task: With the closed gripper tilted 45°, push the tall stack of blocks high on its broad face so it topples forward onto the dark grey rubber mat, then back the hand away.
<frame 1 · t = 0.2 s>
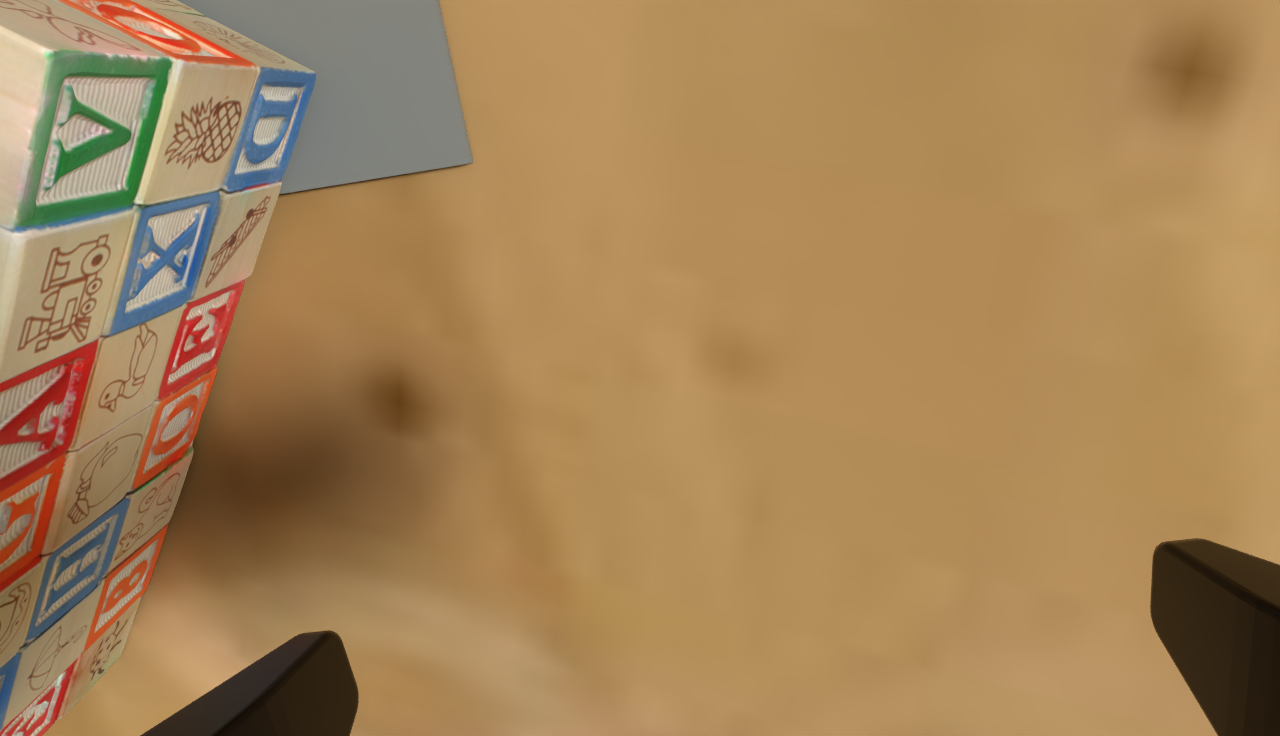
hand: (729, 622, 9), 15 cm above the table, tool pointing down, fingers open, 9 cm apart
stack of blocks: (115, 360, 23), on the table, touching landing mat
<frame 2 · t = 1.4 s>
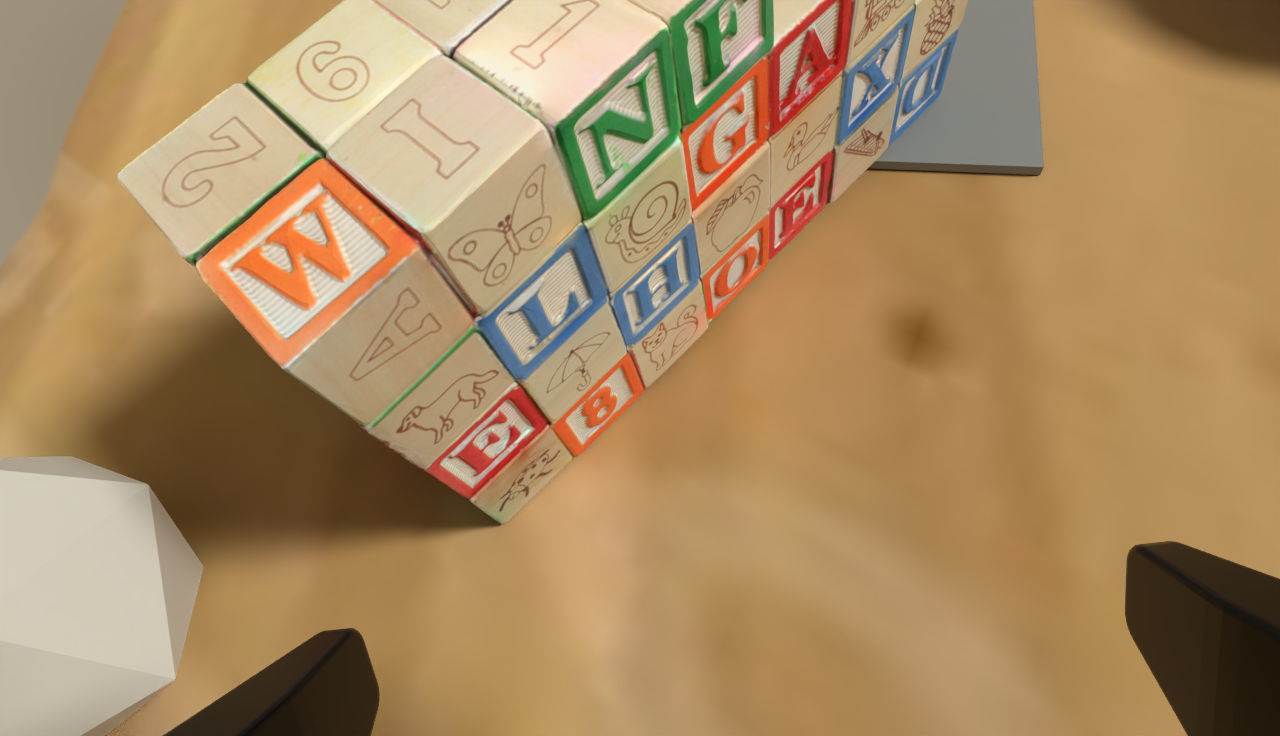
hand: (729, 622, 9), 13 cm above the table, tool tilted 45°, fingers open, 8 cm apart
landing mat: (712, 35, 31), on the table
die: (126, 631, 24), on the table
stack of blocks: (674, 250, 27), on the table, touching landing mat
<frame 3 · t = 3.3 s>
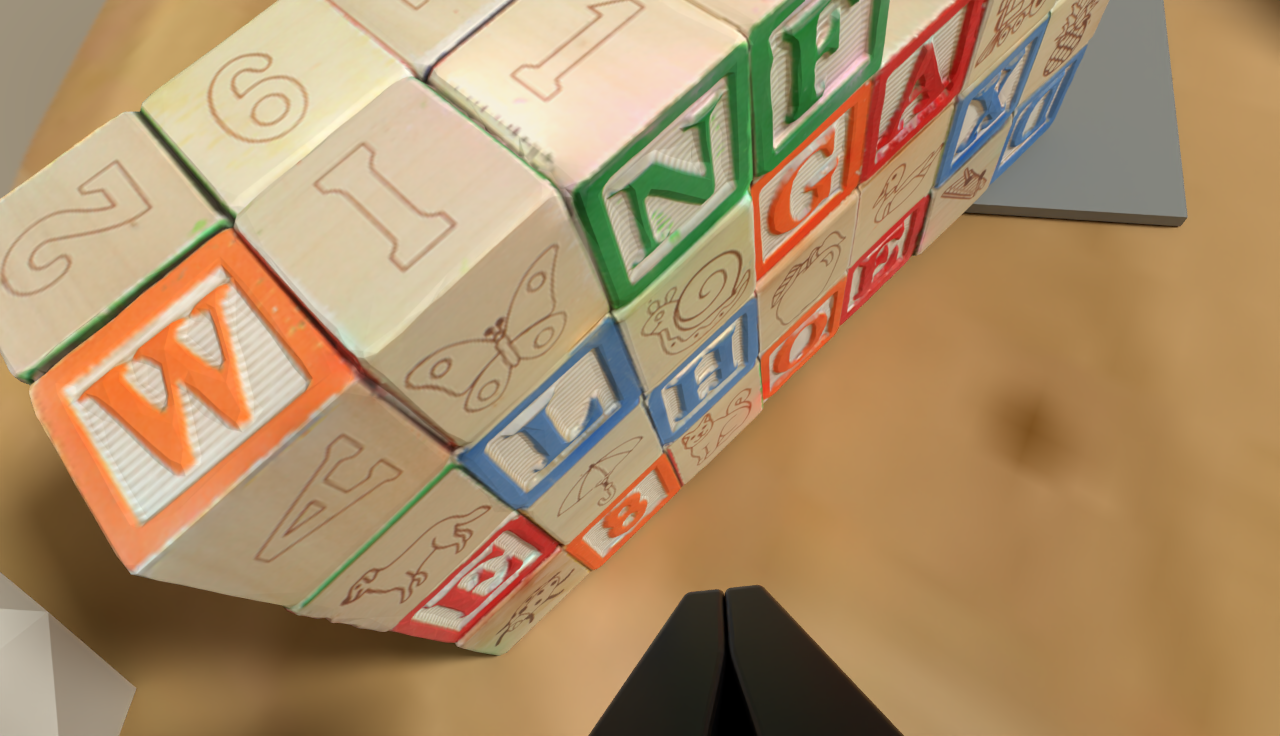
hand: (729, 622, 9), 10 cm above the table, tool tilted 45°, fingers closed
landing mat: (769, 45, 26), on the table
stack of blocks: (720, 307, 22), on the table, touching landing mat
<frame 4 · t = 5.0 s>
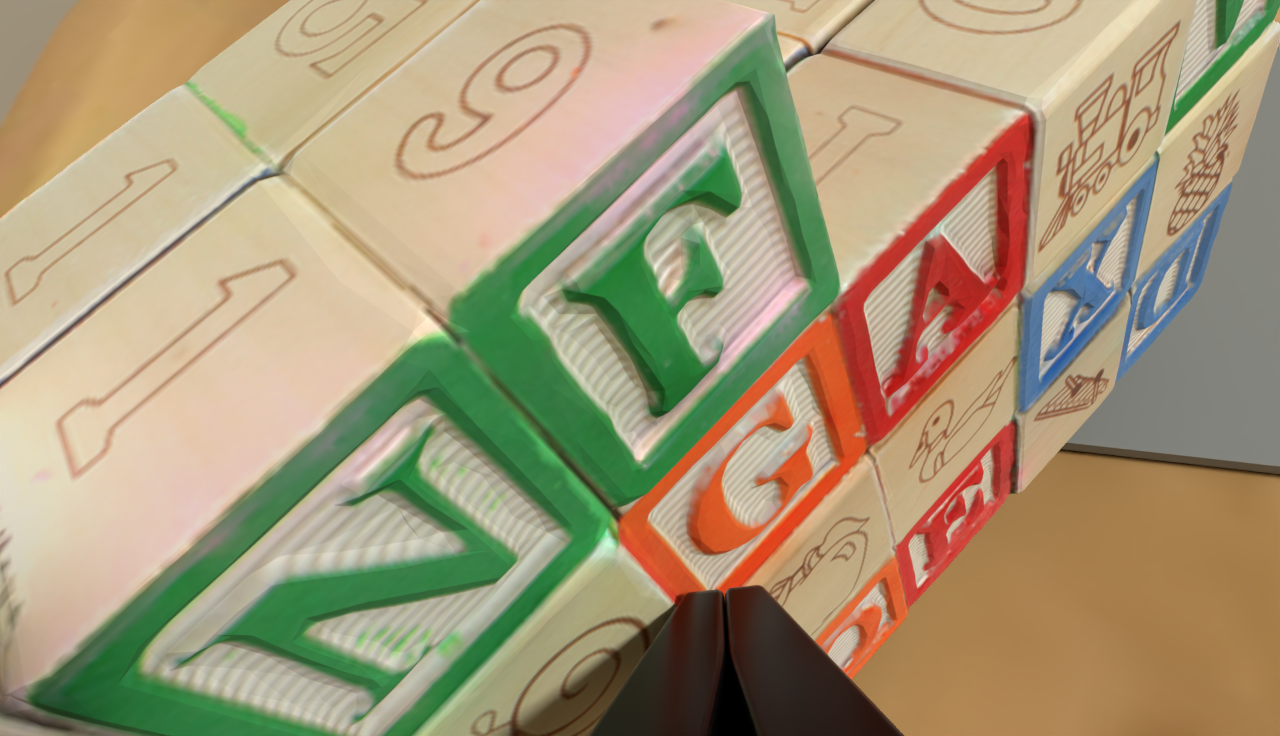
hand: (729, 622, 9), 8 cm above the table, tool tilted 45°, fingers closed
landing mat: (797, 199, 21), on the table
stack of blocks: (744, 573, 16), point 1 cm above the table, touching gripper, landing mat
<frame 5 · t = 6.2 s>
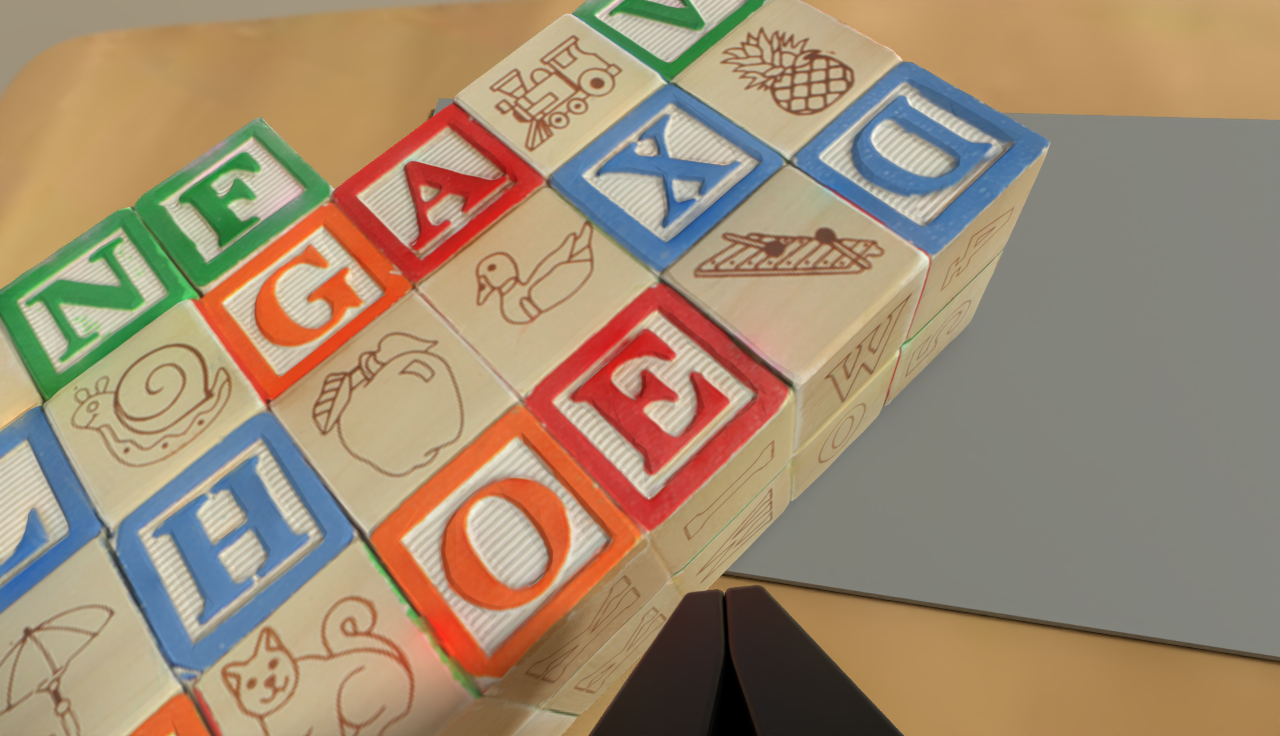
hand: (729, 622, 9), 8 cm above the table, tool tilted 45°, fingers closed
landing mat: (813, 318, 19), on the table
stack of blocks: (620, 656, 13), point 4 cm above the table, touching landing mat
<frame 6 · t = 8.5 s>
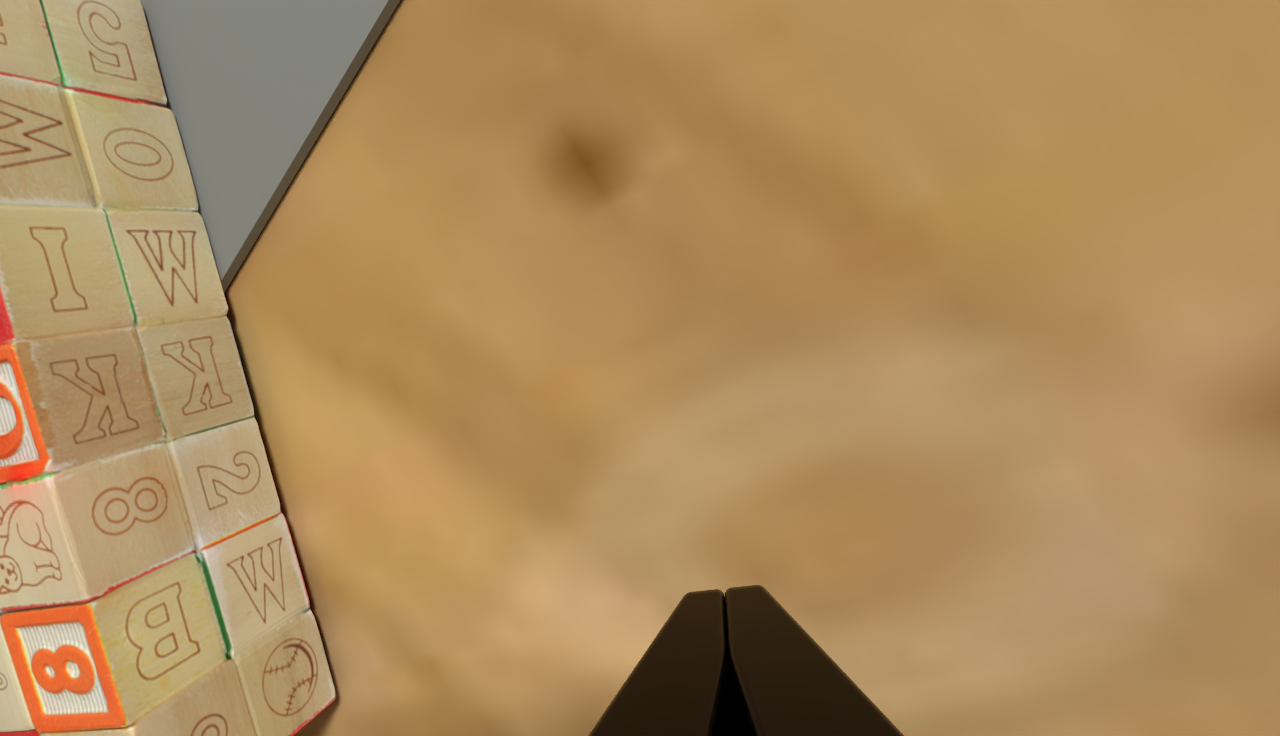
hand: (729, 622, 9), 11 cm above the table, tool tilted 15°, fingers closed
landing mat: (107, 102, 23), on the table
stack of blocks: (162, 382, 20), point 4 cm above the table, touching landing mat
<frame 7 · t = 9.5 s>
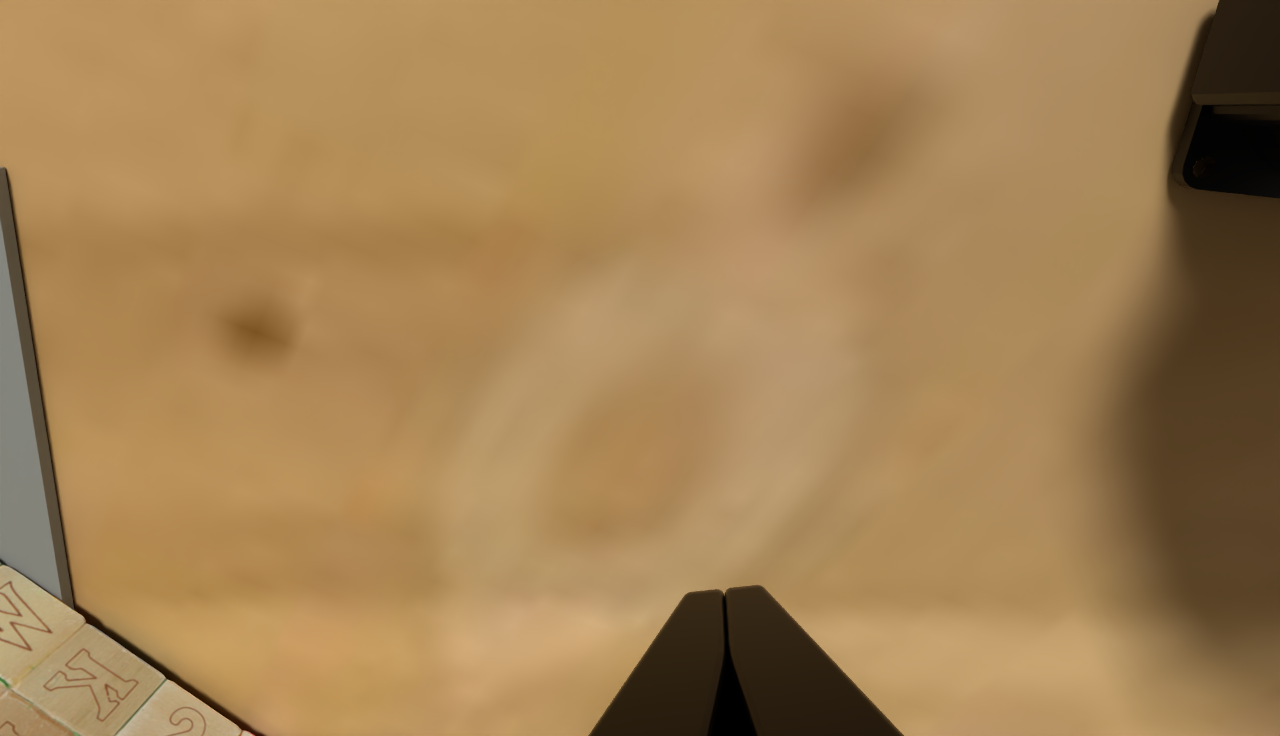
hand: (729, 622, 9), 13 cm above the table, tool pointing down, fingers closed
stack of blocks: (63, 712, 22), point 4 cm above the table, touching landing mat
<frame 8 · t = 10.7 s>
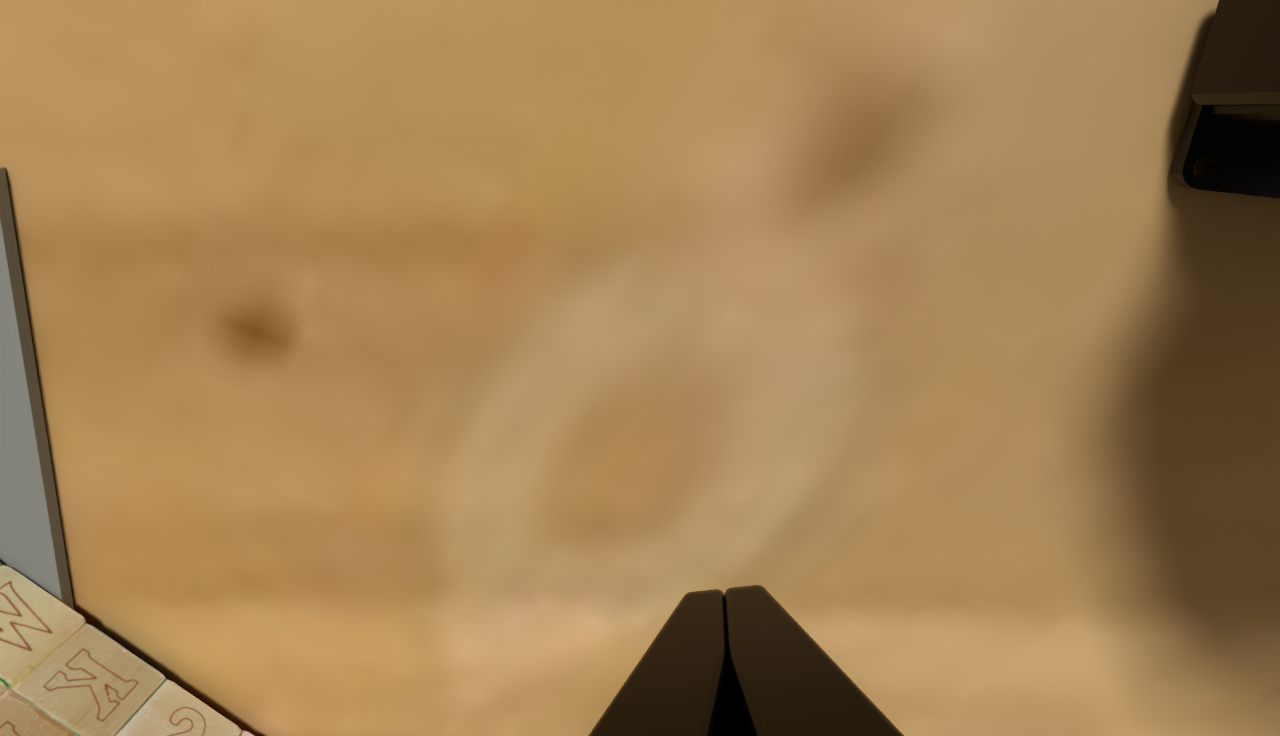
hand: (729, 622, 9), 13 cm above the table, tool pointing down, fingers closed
stack of blocks: (63, 712, 22), point 4 cm above the table, touching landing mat
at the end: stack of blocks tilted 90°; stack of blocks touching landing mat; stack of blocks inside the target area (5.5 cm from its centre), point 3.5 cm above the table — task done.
